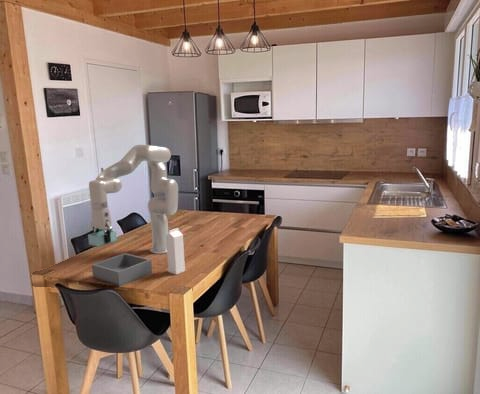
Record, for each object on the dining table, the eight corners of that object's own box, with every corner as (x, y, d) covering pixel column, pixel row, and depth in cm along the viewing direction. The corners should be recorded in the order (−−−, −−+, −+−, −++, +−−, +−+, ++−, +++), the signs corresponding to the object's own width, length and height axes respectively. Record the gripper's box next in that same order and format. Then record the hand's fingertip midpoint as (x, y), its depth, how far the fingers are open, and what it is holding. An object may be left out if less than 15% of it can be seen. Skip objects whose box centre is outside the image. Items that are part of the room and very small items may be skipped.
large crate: (126, 265, 221) (125, 253, 219) (152, 273, 209) (151, 259, 208) (93, 278, 205) (91, 264, 204) (119, 286, 193) (118, 272, 192)
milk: (185, 271, 210) (182, 228, 206) (176, 274, 206) (173, 231, 202) (176, 268, 214) (174, 226, 210) (167, 272, 210) (165, 229, 206)
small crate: (108, 238, 213) (107, 229, 212) (116, 241, 208) (115, 231, 207) (89, 244, 204) (88, 234, 203) (97, 247, 200) (96, 236, 199)
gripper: (116, 206, 200) (120, 241, 204) (95, 202, 211) (99, 236, 214) (103, 209, 194) (107, 246, 198) (82, 205, 205) (86, 240, 208)
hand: (103, 240), depth 206 cm, fingers closed on small crate, 7 cm apart
